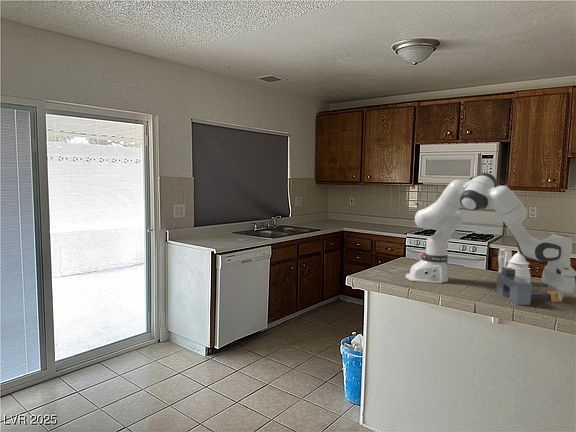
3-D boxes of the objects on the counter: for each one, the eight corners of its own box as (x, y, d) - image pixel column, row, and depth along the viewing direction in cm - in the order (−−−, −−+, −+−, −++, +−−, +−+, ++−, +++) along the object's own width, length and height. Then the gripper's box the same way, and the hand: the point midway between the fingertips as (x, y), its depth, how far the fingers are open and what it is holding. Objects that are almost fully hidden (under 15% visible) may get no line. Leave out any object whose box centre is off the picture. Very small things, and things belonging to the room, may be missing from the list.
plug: (522, 300, 192) (522, 292, 192) (517, 297, 196) (518, 289, 196) (561, 302, 191) (562, 293, 190) (556, 299, 195) (557, 290, 195)
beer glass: (494, 273, 245) (496, 248, 244) (505, 273, 246) (507, 248, 244) (501, 276, 238) (503, 250, 237) (512, 276, 239) (514, 250, 237)
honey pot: (533, 286, 217) (536, 253, 215) (507, 284, 219) (510, 251, 217) (524, 280, 229) (527, 249, 227) (500, 279, 232) (502, 247, 230)
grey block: (516, 305, 184) (518, 276, 183) (496, 291, 205) (498, 266, 204) (530, 305, 184) (532, 277, 183) (508, 292, 205) (510, 266, 203)
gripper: (539, 263, 202) (536, 290, 204) (564, 273, 182) (561, 303, 183) (552, 263, 202) (550, 291, 203) (579, 273, 181) (576, 304, 183)
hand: (555, 297), depth 193 cm, fingers open, 5 cm apart
